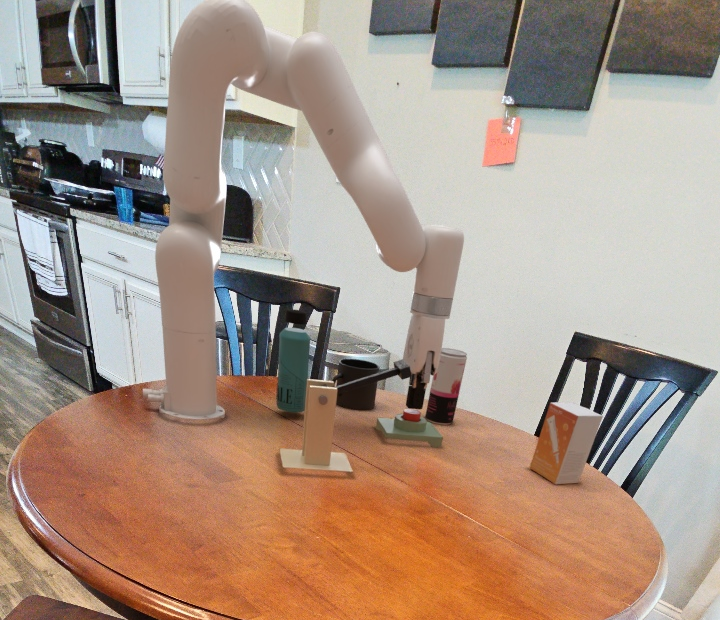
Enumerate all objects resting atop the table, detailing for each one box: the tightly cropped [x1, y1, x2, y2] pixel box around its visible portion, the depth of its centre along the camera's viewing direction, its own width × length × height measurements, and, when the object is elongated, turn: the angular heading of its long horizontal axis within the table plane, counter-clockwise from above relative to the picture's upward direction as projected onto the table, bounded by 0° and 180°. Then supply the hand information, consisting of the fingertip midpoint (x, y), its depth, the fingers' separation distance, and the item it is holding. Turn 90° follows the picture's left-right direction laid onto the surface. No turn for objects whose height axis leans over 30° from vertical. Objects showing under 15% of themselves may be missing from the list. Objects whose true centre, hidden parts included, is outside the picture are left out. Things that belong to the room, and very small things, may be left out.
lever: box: [321, 358, 412, 394], centre depth 96 cm, size 16×5×2 cm, turn 100°
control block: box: [375, 413, 444, 449], centre depth 123 cm, size 12×10×4 cm
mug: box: [331, 358, 381, 411], centre depth 135 cm, size 9×12×9 cm
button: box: [402, 408, 422, 422], centre depth 121 cm, size 4×4×2 cm
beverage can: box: [424, 347, 468, 426], centre depth 133 cm, size 7×6×15 cm
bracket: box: [279, 378, 354, 473], centre depth 99 cm, size 12×9×14 cm
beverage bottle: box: [275, 308, 312, 413], centre depth 120 cm, size 6×7×20 cm
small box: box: [529, 401, 604, 485], centre depth 112 cm, size 8×6×13 cm
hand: (413, 407), depth 120 cm, fingers closed
